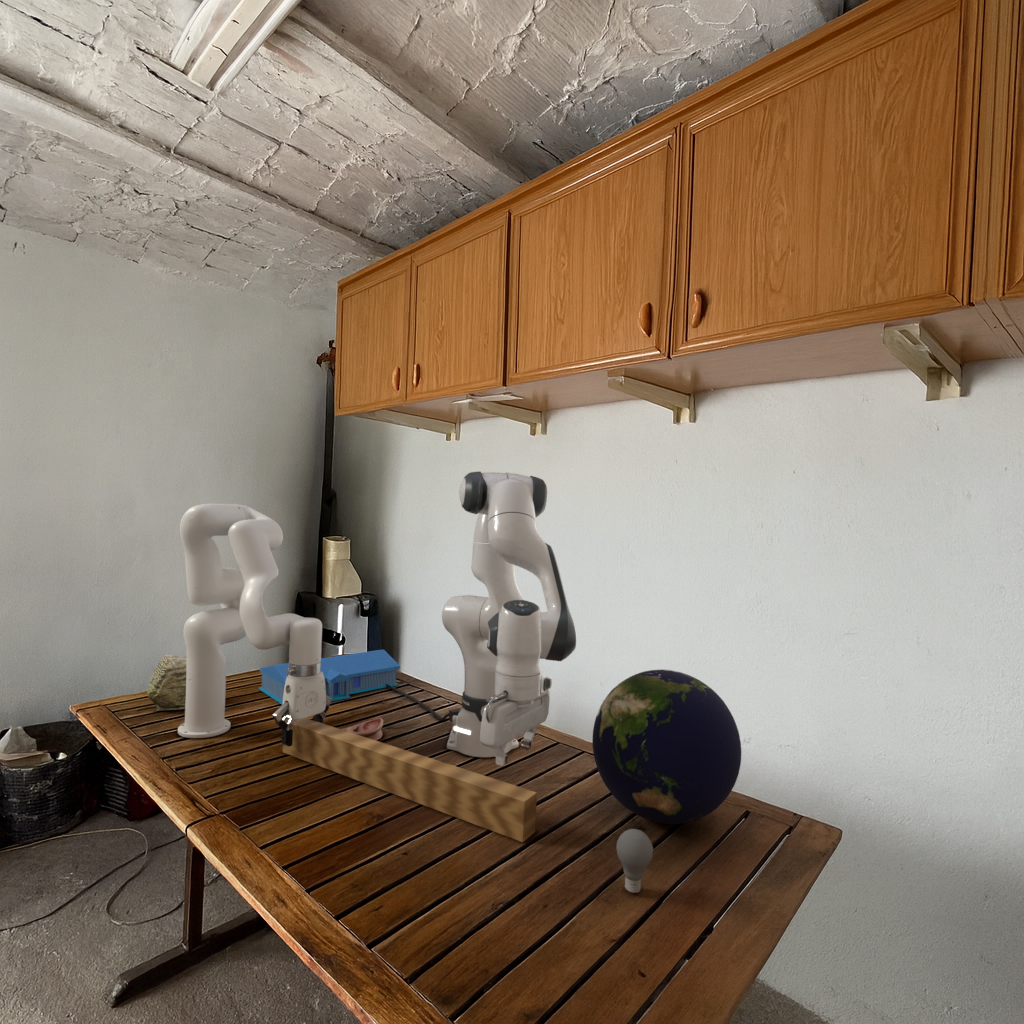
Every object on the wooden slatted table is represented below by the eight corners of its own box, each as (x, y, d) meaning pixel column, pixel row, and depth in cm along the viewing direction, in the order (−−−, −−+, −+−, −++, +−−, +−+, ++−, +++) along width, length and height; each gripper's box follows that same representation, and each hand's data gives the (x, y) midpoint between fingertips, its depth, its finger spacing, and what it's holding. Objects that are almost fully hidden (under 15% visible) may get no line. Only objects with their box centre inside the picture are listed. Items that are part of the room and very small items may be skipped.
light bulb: (610, 879, 108) (613, 822, 108) (644, 879, 109) (647, 822, 109) (619, 902, 102) (622, 840, 102) (655, 901, 103) (658, 840, 103)
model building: (289, 709, 186) (291, 675, 185) (258, 688, 204) (259, 657, 204) (403, 687, 212) (405, 657, 212) (366, 670, 230) (368, 643, 230)
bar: (282, 752, 156) (283, 720, 155) (298, 746, 160) (299, 715, 159) (522, 842, 119) (524, 801, 119) (535, 831, 123) (537, 792, 123)
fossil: (144, 707, 182) (145, 655, 182) (212, 696, 194) (213, 647, 194) (151, 716, 175) (153, 662, 175) (221, 703, 188) (223, 653, 188)
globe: (571, 831, 124) (578, 679, 123) (607, 773, 151) (613, 648, 151) (733, 872, 112) (742, 704, 112) (740, 800, 140) (747, 665, 139)
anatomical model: (322, 726, 163) (343, 712, 174) (321, 741, 163) (342, 726, 174) (370, 732, 160) (388, 717, 171) (370, 747, 160) (388, 732, 171)
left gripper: (285, 679, 146) (283, 754, 146) (342, 664, 161) (340, 732, 161) (264, 673, 150) (262, 746, 150) (321, 659, 164) (319, 725, 165)
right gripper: (502, 702, 113) (499, 779, 113) (556, 677, 130) (553, 744, 130) (473, 695, 116) (470, 770, 116) (529, 671, 133) (526, 737, 134)
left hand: (302, 738), depth 155 cm, fingers open, 8 cm apart
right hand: (514, 756), depth 123 cm, fingers open, 8 cm apart
